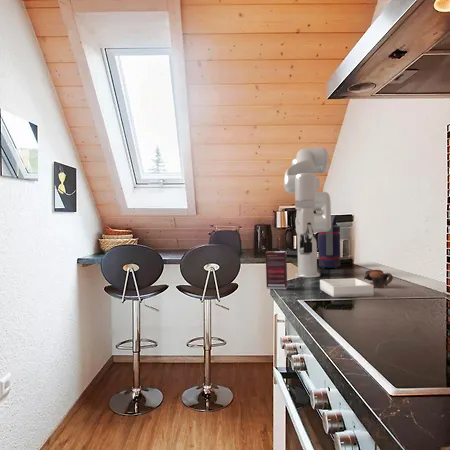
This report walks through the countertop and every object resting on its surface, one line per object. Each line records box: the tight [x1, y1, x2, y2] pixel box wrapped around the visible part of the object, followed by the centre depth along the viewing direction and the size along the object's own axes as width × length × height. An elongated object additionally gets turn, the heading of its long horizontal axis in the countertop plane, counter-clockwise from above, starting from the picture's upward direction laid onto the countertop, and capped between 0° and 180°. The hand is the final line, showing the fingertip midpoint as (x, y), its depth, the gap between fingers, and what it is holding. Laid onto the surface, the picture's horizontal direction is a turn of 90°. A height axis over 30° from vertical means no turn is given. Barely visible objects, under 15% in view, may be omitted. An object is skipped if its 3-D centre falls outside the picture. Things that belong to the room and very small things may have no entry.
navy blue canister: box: [318, 215, 341, 270], centre depth 214 cm, size 14×12×30 cm
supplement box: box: [265, 250, 288, 290], centre depth 160 cm, size 9×5×16 cm, turn 75°
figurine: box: [299, 248, 310, 255], centre depth 146 cm, size 5×4×6 cm
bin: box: [319, 277, 375, 298], centre depth 150 cm, size 16×16×4 cm
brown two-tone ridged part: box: [363, 269, 394, 289], centre depth 160 cm, size 12×10×8 cm
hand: (305, 251), depth 146 cm, fingers closed on figurine, 4 cm apart
